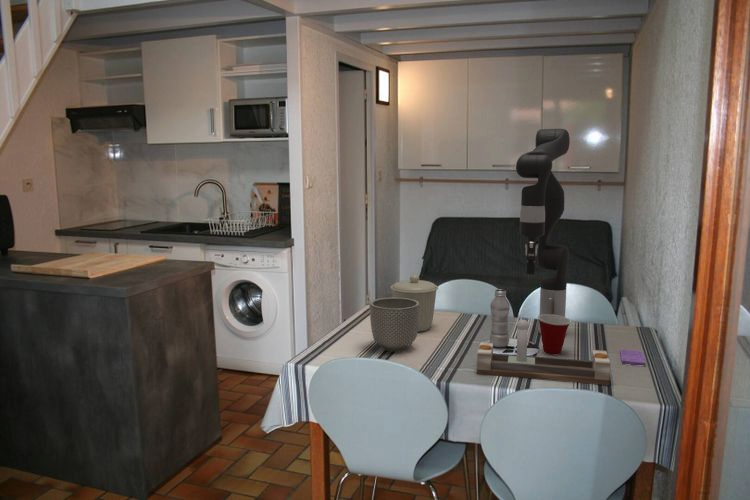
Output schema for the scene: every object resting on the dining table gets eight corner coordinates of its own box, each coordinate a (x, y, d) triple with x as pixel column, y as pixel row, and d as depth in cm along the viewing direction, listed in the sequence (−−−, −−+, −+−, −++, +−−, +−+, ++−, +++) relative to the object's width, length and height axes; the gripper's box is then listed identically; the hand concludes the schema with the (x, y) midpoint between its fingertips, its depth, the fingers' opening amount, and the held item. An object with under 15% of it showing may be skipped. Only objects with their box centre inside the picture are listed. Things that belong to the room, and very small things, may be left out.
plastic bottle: (509, 350, 210) (510, 292, 207) (489, 348, 212) (490, 292, 209) (508, 344, 217) (510, 288, 213) (489, 343, 218) (490, 288, 215)
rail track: (480, 361, 199) (480, 340, 198) (604, 371, 190) (606, 349, 189) (476, 373, 188) (477, 351, 187) (609, 385, 178) (610, 361, 177)
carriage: (508, 361, 194) (509, 316, 192) (534, 363, 192) (536, 317, 190) (507, 367, 188) (509, 321, 186) (534, 370, 186) (536, 323, 184)
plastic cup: (564, 359, 200) (566, 323, 198) (532, 354, 206) (533, 319, 204) (573, 350, 209) (575, 316, 208) (542, 345, 215) (543, 312, 213)
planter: (382, 338, 225) (382, 295, 222) (427, 344, 217) (427, 300, 215) (361, 351, 209) (360, 305, 207) (407, 358, 202) (408, 311, 199)
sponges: (621, 365, 196) (621, 360, 196) (619, 353, 208) (620, 348, 207) (645, 368, 194) (645, 362, 193) (642, 355, 205) (642, 350, 205)
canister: (445, 326, 239) (446, 273, 236) (423, 338, 224) (424, 281, 221) (405, 320, 249) (405, 268, 246) (381, 330, 234) (381, 276, 231)
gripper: (545, 223, 182) (543, 276, 185) (544, 217, 196) (543, 267, 199) (519, 222, 184) (517, 275, 187) (520, 217, 198) (519, 266, 200)
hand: (530, 271), depth 193 cm, fingers open, 8 cm apart
